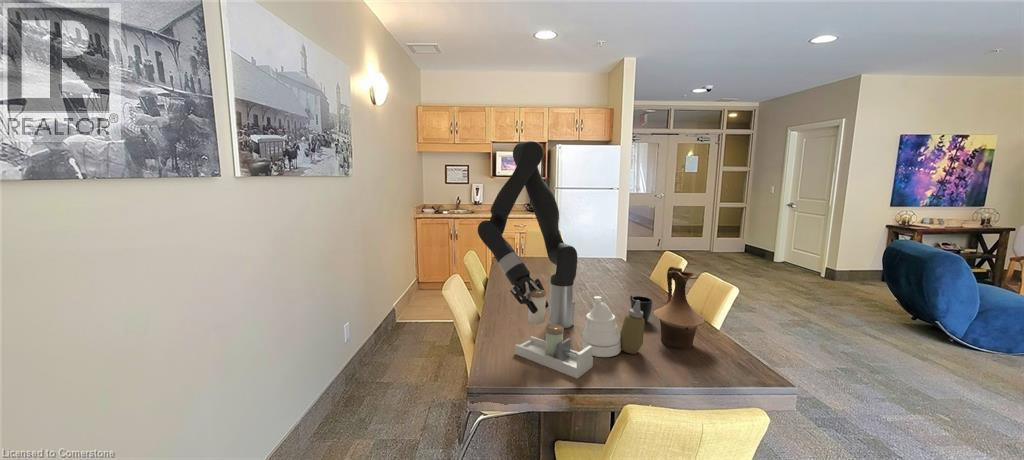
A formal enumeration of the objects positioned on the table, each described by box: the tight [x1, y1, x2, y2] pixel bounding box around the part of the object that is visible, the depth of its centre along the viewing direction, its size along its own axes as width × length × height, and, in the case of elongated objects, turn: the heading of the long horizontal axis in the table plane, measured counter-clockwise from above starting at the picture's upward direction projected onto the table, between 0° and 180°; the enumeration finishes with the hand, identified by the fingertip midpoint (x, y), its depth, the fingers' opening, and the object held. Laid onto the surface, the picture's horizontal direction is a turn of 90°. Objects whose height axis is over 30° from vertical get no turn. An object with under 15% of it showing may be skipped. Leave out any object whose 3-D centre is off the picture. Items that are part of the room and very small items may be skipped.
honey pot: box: [582, 295, 622, 358], centre depth 132 cm, size 13×13×18 cm
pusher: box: [556, 337, 576, 361], centre depth 120 cm, size 5×7×6 cm
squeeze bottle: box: [619, 300, 646, 355], centre depth 131 cm, size 8×8×18 cm
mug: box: [629, 294, 653, 324], centre depth 161 cm, size 8×12×10 cm
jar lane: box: [514, 335, 594, 379], centre depth 124 cm, size 24×10×7 cm, turn 50°
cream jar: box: [527, 289, 547, 325], centre depth 127 cm, size 6×6×10 cm
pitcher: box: [653, 265, 706, 350], centre depth 138 cm, size 18×17×28 cm
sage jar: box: [545, 324, 565, 358], centre depth 124 cm, size 6×6×10 cm
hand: (541, 309), depth 126 cm, fingers closed on cream jar, 5 cm apart
